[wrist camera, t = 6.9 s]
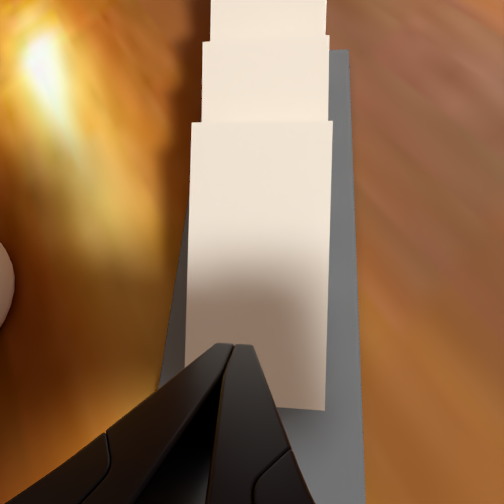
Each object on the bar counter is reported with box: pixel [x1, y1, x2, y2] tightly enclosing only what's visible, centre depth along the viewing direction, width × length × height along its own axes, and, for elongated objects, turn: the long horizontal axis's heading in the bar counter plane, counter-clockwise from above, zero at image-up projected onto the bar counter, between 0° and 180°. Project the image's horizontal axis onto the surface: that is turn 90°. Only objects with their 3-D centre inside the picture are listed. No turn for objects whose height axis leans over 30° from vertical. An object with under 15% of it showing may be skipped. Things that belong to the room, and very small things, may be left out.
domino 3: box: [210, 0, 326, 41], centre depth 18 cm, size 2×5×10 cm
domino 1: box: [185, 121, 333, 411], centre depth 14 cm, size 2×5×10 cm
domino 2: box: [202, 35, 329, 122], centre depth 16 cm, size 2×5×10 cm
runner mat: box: [158, 50, 366, 504], centre depth 18 cm, size 24×8×1 cm, turn 176°
